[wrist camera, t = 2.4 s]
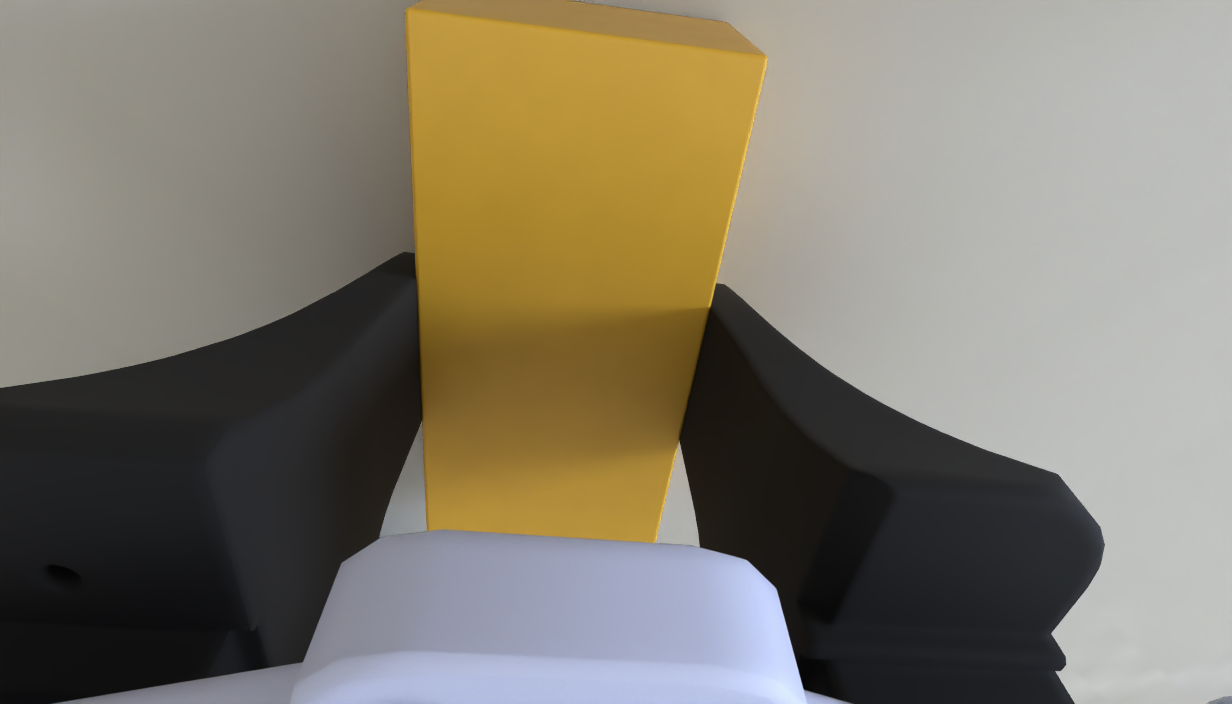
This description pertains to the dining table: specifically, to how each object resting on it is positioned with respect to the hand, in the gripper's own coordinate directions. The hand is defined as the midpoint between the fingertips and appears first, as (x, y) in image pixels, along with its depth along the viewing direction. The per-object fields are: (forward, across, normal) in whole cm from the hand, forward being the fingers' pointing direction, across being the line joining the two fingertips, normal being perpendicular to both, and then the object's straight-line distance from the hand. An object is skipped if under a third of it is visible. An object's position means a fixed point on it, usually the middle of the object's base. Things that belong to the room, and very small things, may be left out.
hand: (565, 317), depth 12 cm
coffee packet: (+1, 0, 0) cm, 1 cm away
